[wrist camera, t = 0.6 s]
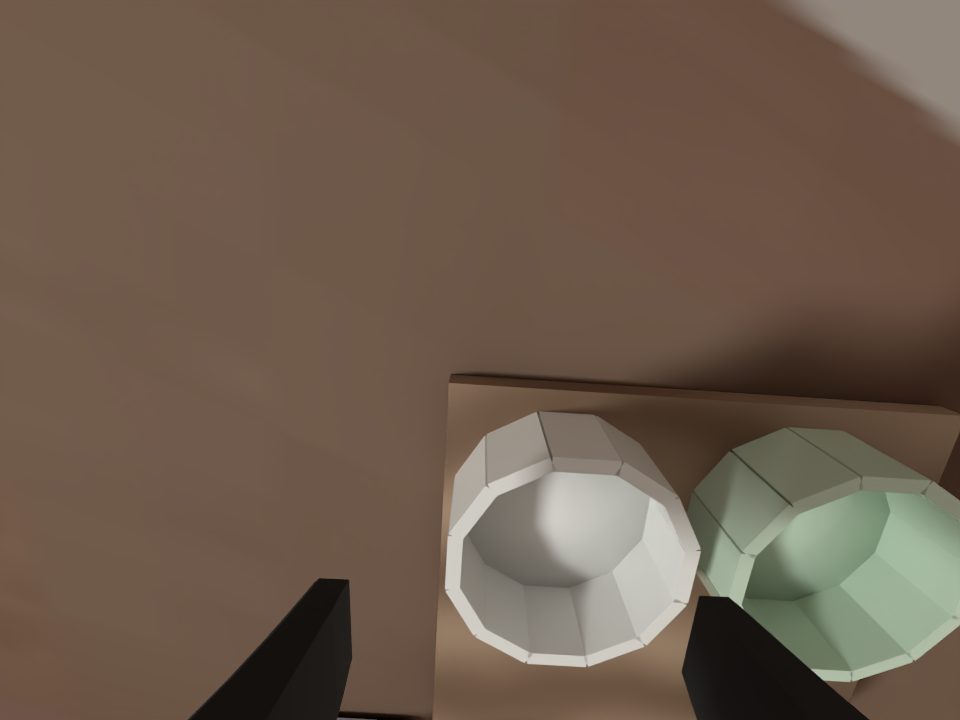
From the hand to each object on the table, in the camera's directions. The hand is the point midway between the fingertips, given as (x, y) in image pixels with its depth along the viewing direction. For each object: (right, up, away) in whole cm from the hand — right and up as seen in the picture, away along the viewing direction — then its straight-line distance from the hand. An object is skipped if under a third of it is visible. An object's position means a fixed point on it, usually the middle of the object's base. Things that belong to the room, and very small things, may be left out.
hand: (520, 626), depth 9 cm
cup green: (+12, -1, +9) cm, 15 cm away
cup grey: (+2, 0, +9) cm, 9 cm away
